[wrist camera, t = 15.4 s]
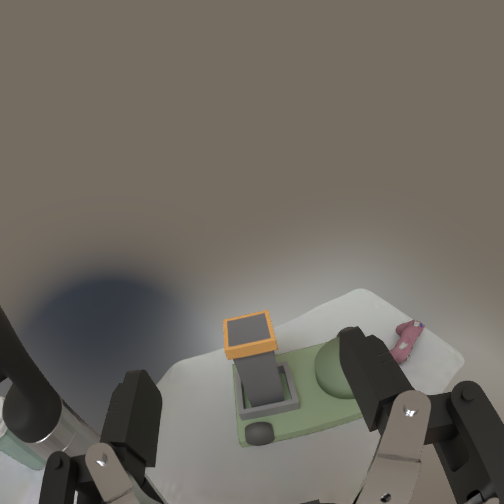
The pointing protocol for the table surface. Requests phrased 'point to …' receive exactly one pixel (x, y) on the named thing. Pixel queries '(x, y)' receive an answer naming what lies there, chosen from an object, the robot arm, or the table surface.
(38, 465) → the disposable coffee cup
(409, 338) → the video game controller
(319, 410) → the toy lawn mower
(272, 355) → the orange-capped grey post
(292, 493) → the table surface
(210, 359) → the table surface
